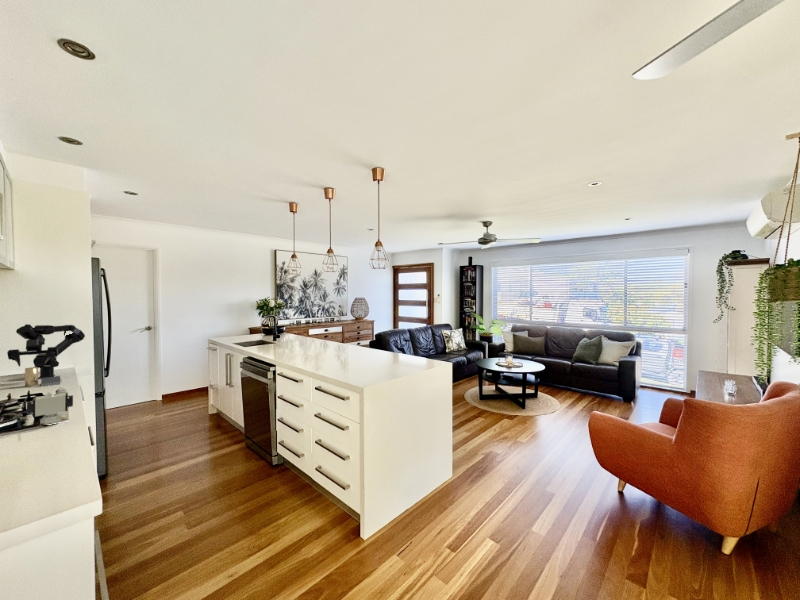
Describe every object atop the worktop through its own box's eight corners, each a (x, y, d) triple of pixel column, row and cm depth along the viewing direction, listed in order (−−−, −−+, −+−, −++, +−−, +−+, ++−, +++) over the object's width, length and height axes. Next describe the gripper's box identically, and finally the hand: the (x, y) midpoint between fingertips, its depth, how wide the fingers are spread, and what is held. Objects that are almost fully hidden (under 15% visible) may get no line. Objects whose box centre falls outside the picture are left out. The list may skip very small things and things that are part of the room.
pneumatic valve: (72, 422, 124) (72, 391, 124) (26, 430, 115) (26, 397, 115) (72, 418, 128) (73, 388, 128) (28, 426, 119) (28, 394, 119)
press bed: (43, 383, 180) (43, 375, 180) (61, 381, 185) (61, 373, 185) (41, 386, 174) (41, 378, 174) (59, 384, 178) (59, 376, 178)
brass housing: (25, 385, 175) (25, 367, 175) (38, 384, 178) (38, 366, 178) (24, 387, 171) (24, 369, 171) (37, 386, 175) (37, 367, 175)
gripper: (8, 335, 175) (3, 358, 167) (57, 333, 188) (55, 354, 180) (11, 348, 181) (6, 370, 173) (58, 345, 194) (56, 365, 186)
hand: (32, 364), depth 178 cm, fingers open, 9 cm apart
